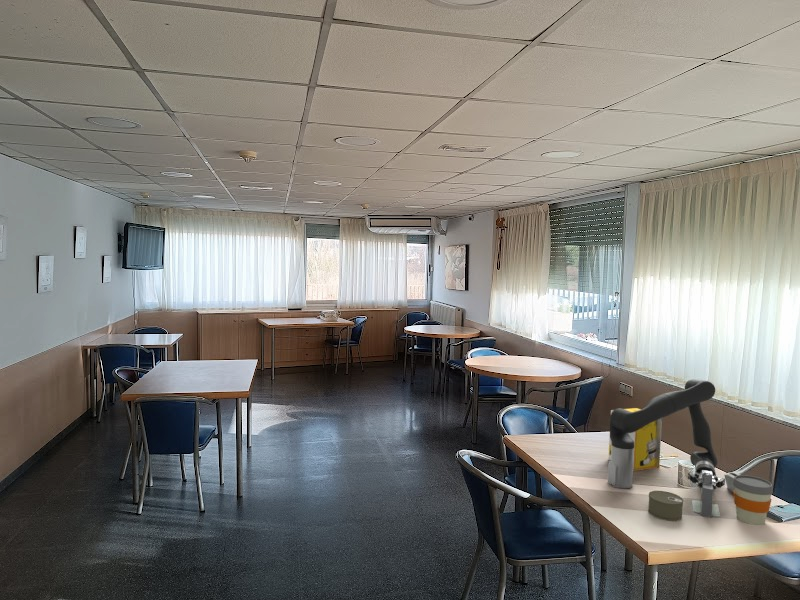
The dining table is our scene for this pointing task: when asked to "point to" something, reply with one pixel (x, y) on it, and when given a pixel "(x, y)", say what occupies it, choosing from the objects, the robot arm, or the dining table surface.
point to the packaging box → (645, 444)
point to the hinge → (730, 480)
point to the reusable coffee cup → (752, 498)
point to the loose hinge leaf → (706, 478)
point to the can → (665, 505)
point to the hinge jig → (706, 502)
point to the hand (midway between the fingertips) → (707, 486)
